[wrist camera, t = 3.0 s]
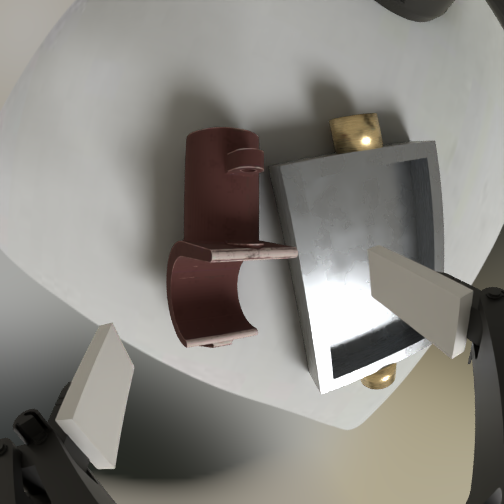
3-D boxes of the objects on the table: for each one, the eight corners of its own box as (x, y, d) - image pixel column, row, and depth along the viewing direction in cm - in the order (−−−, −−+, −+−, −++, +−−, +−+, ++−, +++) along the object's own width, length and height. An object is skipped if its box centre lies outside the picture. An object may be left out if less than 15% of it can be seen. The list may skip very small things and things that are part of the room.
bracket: (167, 343, 26) (216, 394, 17) (165, 150, 24) (214, 109, 16) (228, 334, 29) (293, 372, 20) (227, 157, 28) (296, 128, 19)
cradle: (260, 133, 25) (272, 126, 21) (405, 114, 26) (431, 110, 22) (312, 389, 33) (324, 413, 29) (418, 343, 35) (437, 359, 31)
